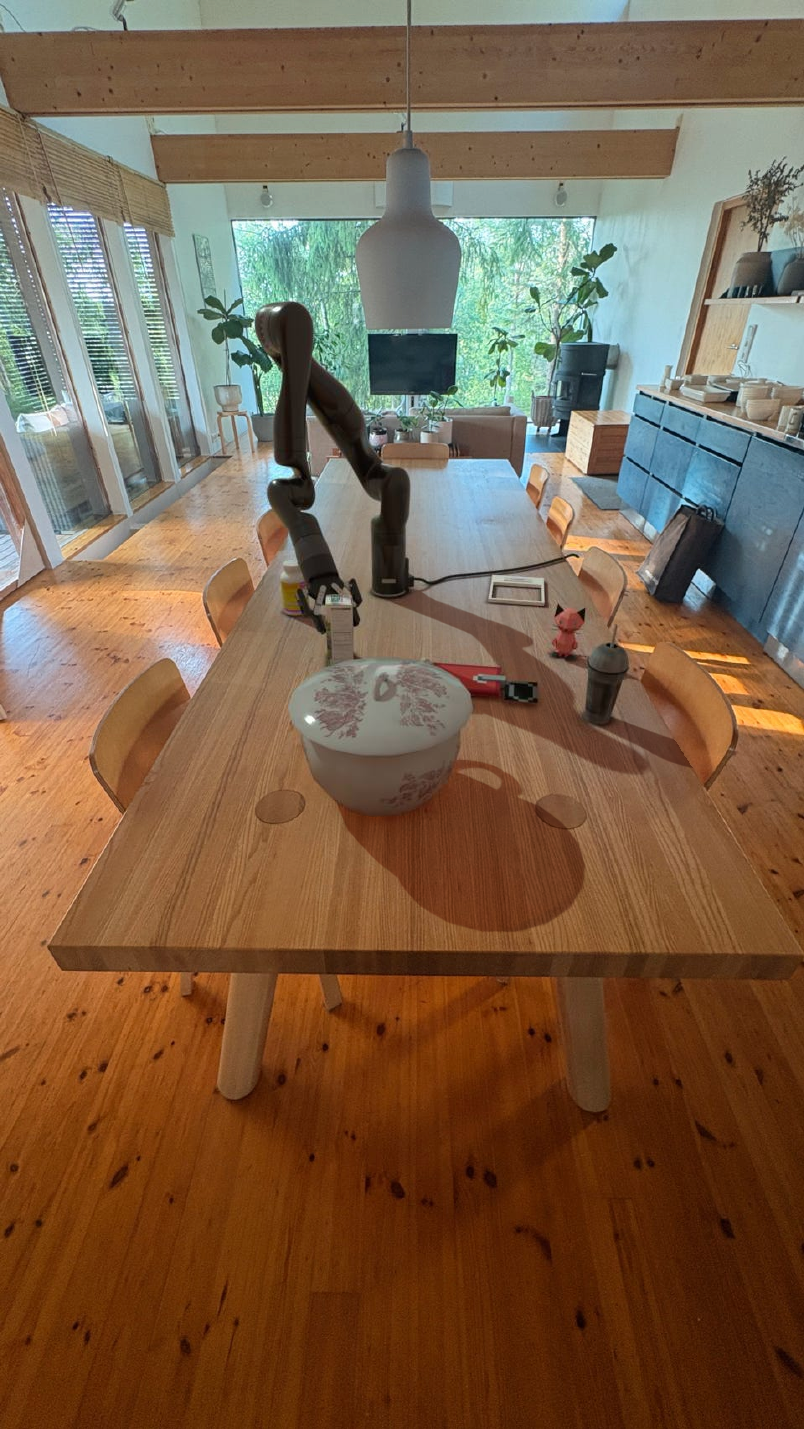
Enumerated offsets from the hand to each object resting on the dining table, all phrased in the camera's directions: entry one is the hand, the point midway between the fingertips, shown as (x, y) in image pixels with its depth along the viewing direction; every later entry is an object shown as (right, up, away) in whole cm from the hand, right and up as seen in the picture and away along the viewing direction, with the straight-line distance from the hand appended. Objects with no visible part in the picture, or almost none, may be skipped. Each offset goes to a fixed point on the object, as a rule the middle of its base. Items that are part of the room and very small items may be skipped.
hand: (340, 629), depth 134 cm
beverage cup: (+51, -19, -15) cm, 56 cm away
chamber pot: (+10, -30, -32) cm, 45 cm away
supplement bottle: (-14, +8, +27) cm, 31 cm away
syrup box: (0, -7, +4) cm, 8 cm away
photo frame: (+45, +15, +38) cm, 61 cm away
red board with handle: (+26, -13, -6) cm, 30 cm away
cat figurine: (+50, -5, +6) cm, 51 cm away
